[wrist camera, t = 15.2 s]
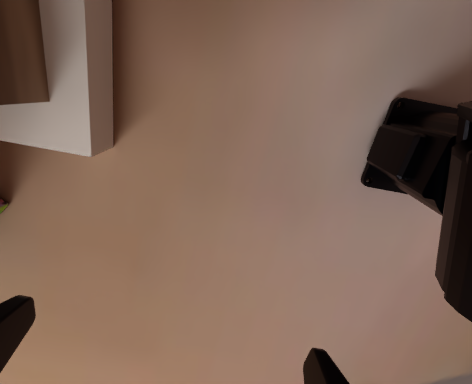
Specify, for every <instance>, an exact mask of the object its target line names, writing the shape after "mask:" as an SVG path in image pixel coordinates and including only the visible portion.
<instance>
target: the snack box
mask: <svg viewBox="0 0 472 384" xmlns="http://www.w3.org/2000/svg"><path fill="white" fill-rule="evenodd" d="M7 206H8V203H6V202H4V201H3V200H2V199H1V198H0V213H1V212H2V211H3V210H4V209H5V208H6V207H7Z"/></svg>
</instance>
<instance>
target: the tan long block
mask: <svg viewBox="0 0 472 384" xmlns="http://www.w3.org/2000/svg"><path fill="white" fill-rule="evenodd" d="M39 102H50V101H49V91H48V82H47V73H46V63H45V54H44V45H43V36H42V26H41V17H40V8H39V0H0V105H10V104H25V103H39Z"/></svg>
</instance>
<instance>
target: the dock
mask: <svg viewBox="0 0 472 384" xmlns="http://www.w3.org/2000/svg"><path fill="white" fill-rule="evenodd" d="M39 8H40V17H41V26H42V36H43V45H44V54H45V63H46V73H47V82H48V91H49V101H50V102H39V103H25V104H10V105H0V141H6V142H11V143H17V144H22V145H28V146H33V147H39V148H44V149H50V150H55V151H61V152H66V153H72V154H77V155H83V156H89V157H92V156H95V155H97V154H99V153H101V152H104V151H106V150H108V149H110V148H112V147H113V54H112V0H39Z"/></svg>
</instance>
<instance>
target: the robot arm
mask: <svg viewBox="0 0 472 384" xmlns="http://www.w3.org/2000/svg"><path fill="white" fill-rule="evenodd" d="M400 102H401V104H402V105H401V107H400V108H399V109H398V108H397V105H398V103H400ZM367 161H368V162H367V164H366V167H365V169H364V172H363V174H362V177H361V183H362V184H363V185H365V186H367V187H372V188H377V189H383V190H388V191H394V192H399V193H404V194H409V195H410V196H412V197H414V198H415V199H417V200H418V201H420V202H421V203H423V204H424V205H426V206H428V207H429V208H431V209H432V210H434V211H435V212H437V213H438V214H440V215H442V216H443V217H442V224H441V232H440V239H439V247H438V254H437V261H436V271H435V276H436V278H437V280H438V282H439V284H440V286H441V288H442V290H443V291H444V292H445V294H444V298H445V300H446V301H447V302H448V303H449V304H450V305H451V306H452V307H453V308H454V309H455V310H456V311H457V312H458V313H460V314H461V315H463V316H464V317H465V318H467V319H468V320H470V321H471V322H472V101H470V102H465V103H460V104H458V109H456V108H451V107H447V106H442V105H437V104H432V103H427V102H422V101H417V100H412V99H407V98H396V99H394V100H393V101H392V103H391V105H390V107H389V110H388V112H387V115H386V117H385V120H384V122H383V125H382V126H380V127H379V129H378V132H377V134H376V137H375V139H374V142H373V144H372V147H371V149H370V152H369V154H368V157H367ZM370 177H371V179H370V181H368V182H366V180H367V179H368V178H370ZM35 316H36V314H35V306H34V300H33V298H32V297H28V296H22V295H18V296H15V297H12V298H10V299H8V300H6V301H4V302H2V303H0V373H1V371H2V370H3V368H4V367H5V365H6V364H7V362H8V361H9V359H10V358H11V356H12V355H13V353H14V352H15V350H16V349H17V347H18V346H19V344H20V342H21V341H22V339H23V338H24V336H25V335H26V333H27V332H28V330H29V329H30V327H31V326H32V324H33V322H34V320H35ZM303 374H304V384H349V382H348V381H347V379H346V378H345V377H344V375H343V374H342V373H341V371H340V370H339V368H338V367H337V366H336V364H335V363H334V362H333V360H332V359H331V358H330V356H329V355H328V353H327V352H326V351H325V350H323V349H318V348H312V349H311V350H310V352H309V354H308V356H307V358H306V360H305V362H304V365H303Z"/></svg>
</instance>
